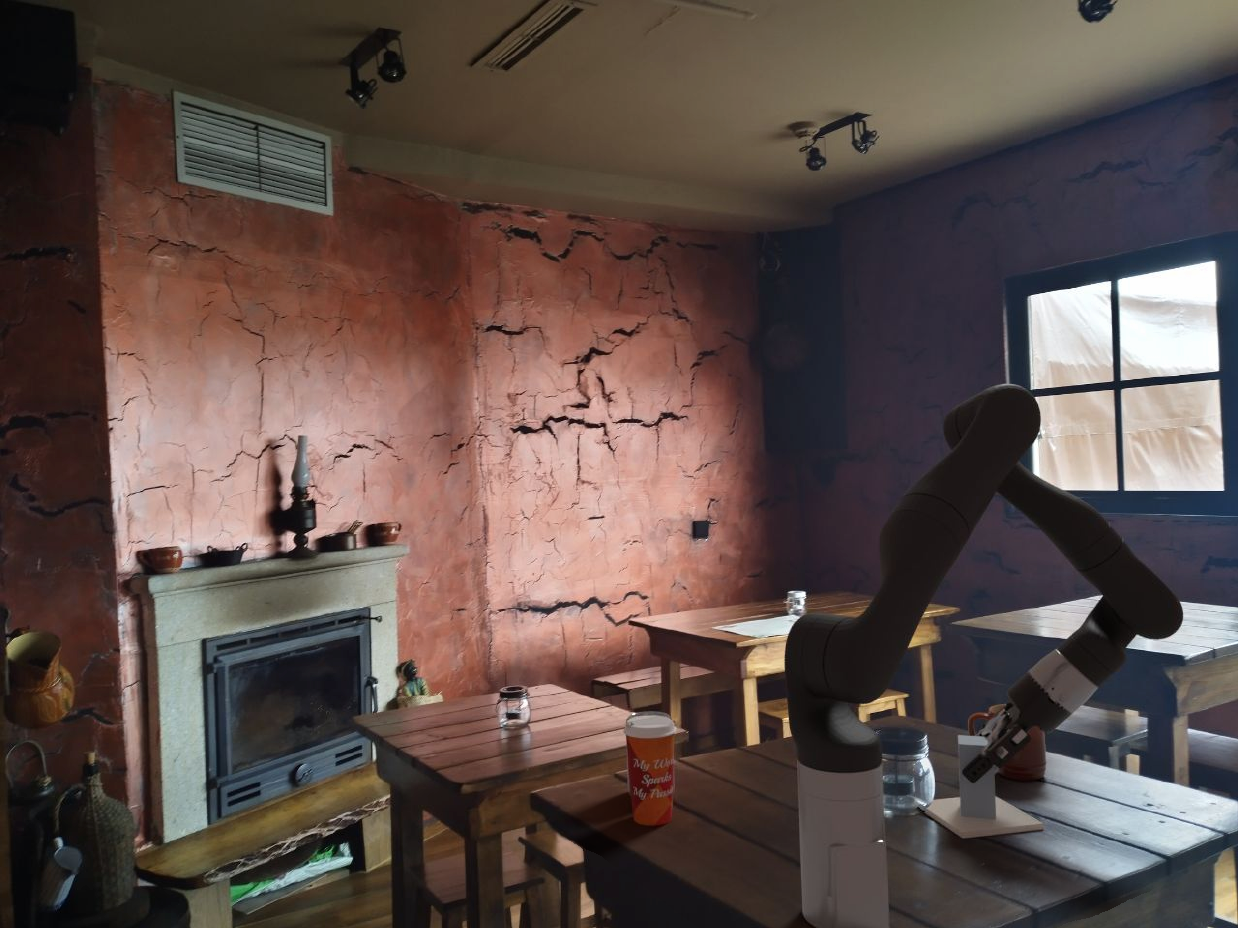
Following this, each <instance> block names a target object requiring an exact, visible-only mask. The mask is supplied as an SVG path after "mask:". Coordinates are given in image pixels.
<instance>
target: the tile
mask: <svg viewBox="0 0 1238 928" xmlns="http://www.w3.org/2000/svg"><path fill="white" fill-rule="evenodd" d="M932 800H933V802H932V804H931V805H930V806H929V807H928V808H926V811H925V812H924V813H925V814H926V815H927V816H929V817H931V818H932V819H933V820H935V821H936V822H938V823H940V824H941V825H942V826H943V827H945V828H947V829H948V830H950V832H953V833H954V834H956V835H957V836H958V837H960V838H961V839H963V840H964V839H970V838H972V839H973V838H979V837H980V838H981V837H988V836H989V837H990V836H998V835H1006V834H1007V835H1008V834H1014V833H1022V832H1023V833H1024V832H1025V833H1026V832H1032V831H1040V830H1041V831H1042V830H1044V829H1045V828H1044V823H1043V822H1042V821H1040V820H1038V819H1036V818H1035V817H1033V816H1031V815H1029V814H1028V813H1026V812H1024V811H1022V810H1021V809H1020V808H1017V807H1015V806H1013V805H1012V804H1010V802H1007V801H1005V800H1003V799H1001V798H1000V797H999V796H997V795H995V800H996V819H986V818H974V817H962V816H961V807H960V796H958V797H948V798H947V797H946V798H938V799H932Z"/></svg>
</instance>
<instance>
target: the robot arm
mask: <svg viewBox="0 0 1238 928" xmlns="http://www.w3.org/2000/svg"><path fill="white" fill-rule="evenodd" d="M1041 423H1042V417H1041V410H1040V405H1039V402H1038V400H1036V398H1035V396H1034V395H1033V393H1032V392H1030V391H1029V390H1027V389H1026V388H1025V387H1023V386H1021V385H1018V384H1014V383H1013V384H1012V383H1002V384H997V385H994V386H991V387H988V388H986V389H984V390H983V391H980V392H979V393H977V394H975V395H974V396H971V397H970V398H967V399H966V400H964V401H963V402H962V403H959V404H958V405H956V406H955V407H954V408H952V409H951V410H949V411H948V413H947V414H946V415H945V417H944V421H943V426H942V427H943V428H942V431H943V436H944V439H945V441H946V444H947V446H948V447H949V449H950V451H949V452H948V453H947V454H946V455H945V456H944V457H942V458H941V459H940V460H939V461H937V463H935V464H934V465H933V466H931V468H930V469H928V470H927V471H926V472H925V473H924V474H923V475H922V476H921V477H919V478H918V479H917V480H916V482H914V483H913V484H912V485H911V486H910V487H909V488H908V490H906V492H905V493H904V494H903V495H902V497H901V498H899V499H900V500H899V501H898V503H896V506H895V507H894V508H893V509H892V511H891V512H890V514H889V516H888V517H887V518H886V520H885V521H884V523H883V525H882V527H881V530H880V532H879V536H878V537H879V538H878V557H879V564H880V569H881V570H880V571H881V583H880V586H879V588H878V590H877V592H876V594H875V596H874V597H873V599H872V600H871V602H870V603H869V605H868V606H867V608H866V609H865V610H864V611H863V612H862V613H861V614H859V615H858V616H849V615H840V614H833V613H824V612H811V613H810V612H809V613H806V614H804V615H801V616H799V617H798V618H797V619H796V620H795V621H794V623H793V624H792V625H791V627H790V630H789V632H788V634H787V638H786V642H785V649H784V660H783V661H784V680H785V691H786V701H787V703H786V704H787V713H788V716H787V717H788V725H789V730H790V735H791V736H792V739H793V741H794V744H795V747H796V761H797V762H796V763H797V765H796V766H797V797H798V799H797V800H798V801H797V803H798V823H799V827H798V828H799V829H798V830H799V855H800V856H799V857H800V858H799V859H800V879H801V880H800V881H801V885H800V886H801V908H802V909H801V911H802V912H801V913H802V916H803V918H804V919H805V921H807V923H809V924H810V925H812V927H815V928H890V915H889V914H890V911H889V909H890V908H889V882H888V881H889V879H888V857H887V856H888V855H887V854H888V853H887V852H888V851H887V844H886V843H887V842H886V833H885V805H884V803H885V802H884V774H883V772H884V769H883V746H882V741H881V738H880V736H879V735H878V733H877V732H876V731H875V730H874V729H872V728H871V727H869V726H868V725H867V724H866V723H865V722H863V721H862V720H860V718H859V717H857V716H856V714H855V713H854V712H853V711H852V710H851V708H850V706H849V705H848V704H853V705H869V704H871V703H873V702H875V701H877V700H878V699H879V698H880V697H881V696H882V695H883V694H884V693H885V692H886V691H887V690H888V689H889V687H890V685H891V684H892V681H893V680H894V678H895V676H896V675H897V672H898V670H899V668H900V665H901V664H902V662H903V660H904V657H905V655H906V653H907V651H908V648H909V646H910V644H911V642H912V640H913V638H914V635H915V634H916V631H917V630H918V626H919V624H920V622H921V619H922V618H923V616H924V614H925V612H926V611H927V609H928V607H929V605H930V603H931V601H932V599H933V598H934V596H935V594H936V593H937V591H938V589H939V587H940V585H941V584H942V582H943V580H944V579H945V578H946V576H947V574H948V573H949V571H950V569H951V568H952V566H953V565H954V564H955V562H956V561H957V559H958V557H960V554H961V552H962V551H963V549H964V548H965V546H966V544H967V543H968V541H969V539H970V537H971V535H972V533H973V532H974V530H975V528H976V526H977V525H978V523H979V521H981V518H982V516H983V515H984V513H985V512H986V510H987V509H988V507H989V505H990V503H991V501H992V500H993V499H994V497H995V494H996V493H998V494H999V496H1001V497H1002V498H1003V499H1005V500H1006V501H1007V502H1008V503H1010V505H1011V506H1013V508H1015V509H1016V510H1018V511H1019V512H1020V513H1021V514H1023V515H1024V516H1025V517H1026V518H1027V519H1028V520H1030V522H1032V523H1033V524H1034V525H1035V526H1036V527H1037V528H1038V529H1039V530H1040V531H1041V532H1042V533H1043V534H1044V535H1045V536H1046V537H1047V538H1048V539H1049V540H1050V541H1051V543H1052V544H1053V545H1054V546H1055V547H1056V548H1057V549H1058V551H1060V552H1061V554H1062V555H1063V556H1064V557H1065V558H1066V559H1067V560H1068V562H1069V563H1070V564H1071V565H1072V567H1073V568H1074V569H1075V570H1076V571H1077V572H1078V573H1079V574H1080V575H1081V576H1082V577H1083V578H1084V579H1085V580H1086V581H1087V582H1089V583H1090V584H1091V585H1092V586H1094V587H1095V588H1096V589H1097V591H1098V592H1099V593H1100V594H1101V595H1102V596H1101V597H1100V599H1099V600H1098V601H1097V603H1096V604H1095V606H1093V608H1092V609H1091V610H1090V612H1089V613H1088V615H1087V616H1086V618H1085V620H1084V622H1083V623H1082V624H1081V625H1080V627H1079V628H1077V629H1076V630H1075V631H1073V632H1072V633H1071V635H1070V636H1068V637H1067V638H1066V639H1065V640H1064V641H1063V642H1061V643H1060V644H1059V645H1058V646H1057V647H1056V648H1055V649H1054V650H1052V651H1050V652H1049V653H1048V654H1046V655H1045V656H1043V658H1041V659H1040V660H1039V661H1037V663H1036V664H1035V665H1033V667H1031V668H1030V669H1029V670H1028V671H1027V672H1026V673H1025V674H1024V675H1023V676H1021V677H1020V679H1018V680H1017V681H1016V682H1015V683H1013V684H1012V685H1011V686H1010V688H1008V689H1007V690H1006V695H1007V697H1008V699H1009V701H1007V702H1006V703H1005V704H1006V705H1005V706H1003V707H1002V708H1001V709H1000V710H999V711H998V712H997V713H996V714H994V715H993V716H992V717H991V718H990V719H989V720H988V721H987V720H986V721H985V722H984V723H982V724H981V726H980V729H979V731H978V733H977V736H981V737H988V738H987V741H988V744H987V745H986V746H985V748H984V749H983V750H982V752H981V753H980V754H978V755H977V756H976V757H975V758H974V759H973V760H972V761H971V762H970V763H968V764H967V765H966V766H965V767H964V768H963V769H962V774H963V775H964V776H965V777H966V778H967V779H968V780H969V781H970V782H971V783H975V782H977V781H978V780H979V779H980V778H981V777H982V776H983V775H984V774H986V773H987V772H988V771H989V770H990V769H991V768H992V767H993V766H994V768H997V767H998V768H1001V767H1003V766H1004V765H1005V764H1006V763H1007V762H1008V761H1009V760H1010V759H1011V758H1012V757H1013V756H1014V755H1015V754H1016V753H1018V752H1019V751H1020V750H1021V749H1022V748H1023V747H1024V746H1025V745H1026V744H1027V743H1029V742H1030V741H1031V739H1032V738H1031V737H1030V736H1029V735H1028V734H1027V733H1028V732H1029V731H1030V730H1031V729H1032V727H1034V726H1037V727H1039V729H1040V730H1042V731H1043V732H1045V734H1051V733H1053V732H1054V731H1055V730H1056V729H1057V728H1058V727H1059V726H1061V725H1062V724H1063V723H1064V722H1065V721H1066V720H1067V719H1068V718H1070V717H1071V715H1073V714H1074V713H1075V712H1076V711H1077V710H1078V709H1080V708H1081V706H1083V705H1084V704H1085V703H1086V702H1088V700H1089V699H1090V698H1091V697H1092V696H1093V694H1094V693H1095V692H1096V691H1097V690H1098V689H1099V688H1100V687H1101V686H1103V684H1105V683H1106V682H1107V681H1108V680H1109V679H1110V678H1111V677H1113V675H1114V674H1116V673H1117V672H1118V671H1119V670H1120V668H1122V667H1123V665H1124V664H1125V662H1126V661H1127V654H1126V648H1127V647H1128V646H1129V645H1130V643H1132V641H1133V640H1134V639H1135V638H1136V637H1137V635H1138V636H1139V637H1142V638H1144V639H1149V640H1154V641H1156V640H1165V639H1167V638H1170V637H1172V636H1173V635H1175V634H1176V633H1177V632H1178V631H1179V629H1180V628H1181V627H1182V624H1183V620H1184V609H1183V606H1182V603H1181V601H1180V600H1179V598H1178V597H1177V595H1176V594H1175V593H1174V592H1173V591H1172V590H1171V589H1170V588H1169V586H1167V584H1166V583H1164V581H1162V580H1161V579H1160V577H1159V576H1158V575H1157V574H1156V573H1155V572H1154V571H1153V570H1151V568H1149V567H1148V566H1147V564H1145V563H1144V562H1143V561H1142V560H1141V559H1140V558H1139V557H1138V556H1137V555H1136V554H1135V553H1134V552H1133V550H1132V549H1131V548H1130V546H1129V545H1128V544H1127V542H1126V541H1125V540H1124V538H1123V537H1122V535H1120V534H1119V533H1118V532H1117V530H1115V528H1114V527H1113V526H1112V524H1111V523H1110V522H1109V521H1108V520H1107V519H1106V518H1105V517H1104V516H1103V515H1102V513H1100V512H1099V511H1098V510H1097V509H1096V508H1095V507H1094V506H1092V505H1091V504H1090V503H1088V502H1086V501H1084V500H1083V499H1082V498H1080V497H1078V496H1076V495H1075V494H1072V493H1070V492H1068V491H1066V490H1064V489H1062V488H1060V487H1058V486H1055V485H1053V484H1051V483H1050V482H1048V481H1046V480H1045V479H1043V478H1041V477H1040V476H1038V475H1036V474H1035V473H1033V472H1032V471H1031V470H1029V469H1028V468H1027V467H1026V466H1024V465H1023V464H1022V462H1020V460H1021V459H1022V458H1023V457H1024V455H1025V454H1026V453H1027V452H1028V451H1029V449H1030V448H1031V446H1033V444H1034V443H1035V442H1036V440H1037V438H1038V435H1039V433H1040V430H1041V425H1042V424H1041ZM995 724H996V725H995ZM996 750H998V751H999V755H997V754H996V753H995V751H996Z"/></svg>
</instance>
